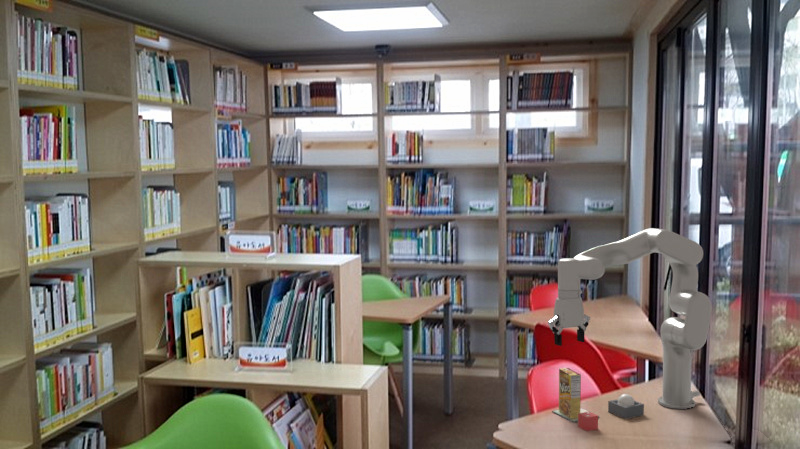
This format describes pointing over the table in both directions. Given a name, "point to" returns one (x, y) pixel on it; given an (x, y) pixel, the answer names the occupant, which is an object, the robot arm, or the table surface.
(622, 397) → the white round ball
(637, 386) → the table surface
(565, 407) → the candy box
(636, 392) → the table surface
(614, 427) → the table surface
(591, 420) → the red die
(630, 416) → the housing
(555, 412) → the striped board
